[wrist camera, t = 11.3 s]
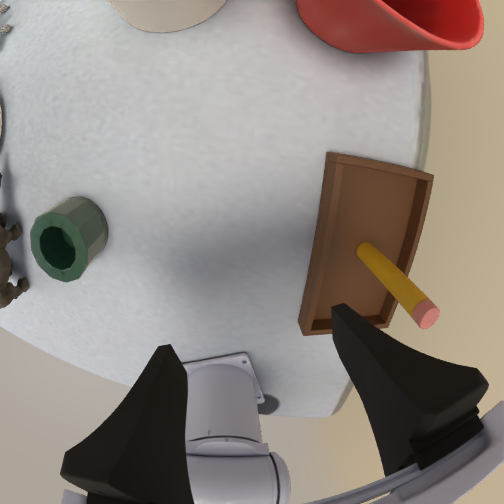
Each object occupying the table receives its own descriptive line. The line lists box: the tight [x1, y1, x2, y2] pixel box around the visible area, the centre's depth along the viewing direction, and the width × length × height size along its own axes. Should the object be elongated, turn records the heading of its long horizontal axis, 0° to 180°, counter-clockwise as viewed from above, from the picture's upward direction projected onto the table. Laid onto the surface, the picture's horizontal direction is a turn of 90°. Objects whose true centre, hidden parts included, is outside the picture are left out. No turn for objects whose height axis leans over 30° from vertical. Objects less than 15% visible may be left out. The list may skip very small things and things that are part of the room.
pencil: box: [357, 242, 440, 329], centre depth 17 cm, size 2×2×10 cm
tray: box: [298, 152, 434, 336], centre depth 21 cm, size 15×9×2 cm, turn 176°
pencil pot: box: [30, 197, 108, 282], centre depth 17 cm, size 5×5×4 cm
